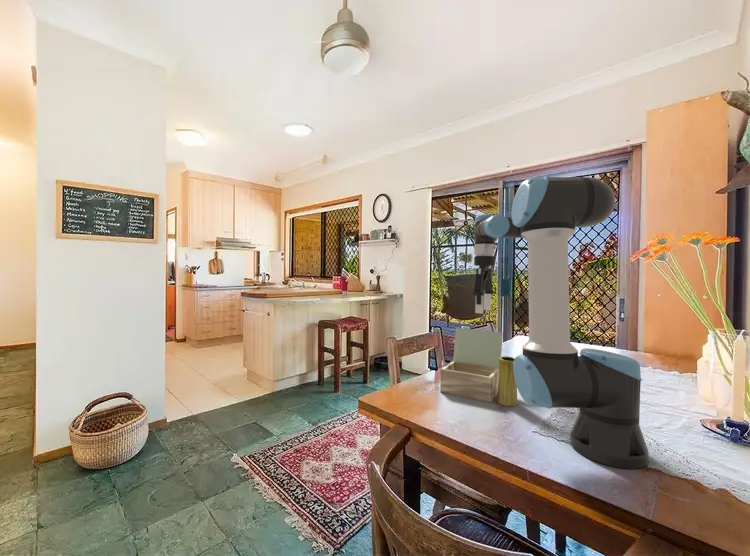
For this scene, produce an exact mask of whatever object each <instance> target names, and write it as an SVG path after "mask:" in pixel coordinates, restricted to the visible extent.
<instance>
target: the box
mask: <svg viewBox="0 0 750 556" xmlns="http://www.w3.org/2000/svg"><path fill="white" fill-rule="evenodd" d="M498 383H499V368H497V367H490V366H484V365H477V364H470V363H464V362H457V361H453V360H452V361H450V363H448V364H446V365H444V366H443V367H441V368H440V389H439V391H440V392H439V393H442V394H447V395H452V396H458V397H461V398H468V399H473V400H477V401H481V402H487V403H492V402H493V401H494V399H495V397H496V396H498Z"/></svg>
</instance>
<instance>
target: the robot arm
mask: <svg viewBox="0 0 750 556" xmlns="http://www.w3.org/2000/svg"><path fill="white" fill-rule="evenodd" d="M615 206H616V195H615V193H614V191H613V189H612V188H611V187H610V185H608V183H606V182H605V181H603V180H601V179H599V178H596V177H595V178H594V177H586V176H585V177H584V176H581V177H578V176H576V177H571V176H570V177H567V176H564V177H563V176H541V177H539V176H538V177H529V178H527V179H525V180H524V181H522V183H521V184H520V185H519V187H518V188H517V190H516V193H515V194H514V197H513V201H512V205H511V212H510V213H511V216H504V215H501V214H495V215H494V214H490V213H489V214H487V213H486V214H479V215H476V216H475V218H474V224H473V226H474V246H473V247H474V249H473V250H474V251H473V254H474V257H473V260H474V261H473V265H474V266H475V267H476V266H477V267H478V268H476V270H475V273H476V275H475V282H474V287H473V288H474V289H473V293H472V294H473V295H472V296H475V304H474V305H475V306H474V307H475V312H474V313H475V314H482V315H483V314H484V311H492V295H493V294H494V289H493V277H492V268H490V266H491V267H494V266H495V261H496V260H495V258H496V257H495V256H494V255H495V253H496V251H495V250H496V249H497V246H495V244H496V239H525V241H526V242H527V264H528V265H527V267H528V268H527V271H528V272H527V274H528V276H527V277H528V278H527V279H528V281H527V283H528V284H527V285H528V331H529V332H528V334H529V335H528V341H527V342H526V343H525V344H524V345H523V346H522V354H519V355H516V356H515V357H514V358H515V359H514V363H513V372H514V378H515V382H516V386H517V392H518V393H519V394H520V397H521V398H522V400H524V402H525V403H527V405H528V406H531V407H535V408H545V409H551V408H554V409H555V408H556V409H557V408H561V409H562V408H564V409H565V408H567V409H568V408H569V409H577V408H578V409H579V411H578V414H577V416H576V419H575V422H574V424H573V426H572V429H571V431H570V438H569V439H570V440H569V442H570V445H571V447H572V448H573V449H574V451H576V452H577V453H579V455H582V456H584V457H585V458H587V459H589V460H591V461H594V462H596V463H598V464H602V465H606V466H609V467H614V468H620V469H628V470H629V469H630V470H634V469H635V470H636V469H642V468H645V467H646V466H648V464H649V450H648V449H649V448H648V447H647V443H646V441H645V438H644V435H643V433H642V429H641V425H640V414H641V413H640V408H641V407H640V405H641V404H640V403H641V384H642V383H641V382H642V377H641V375H642V374H641V365H640V363H639V362H638V361H637V360H636V359H635V358H632V357H629V356H626V355H624V354H620V353H615V352H611V351H607V350H601V349H597V348H596V349H594V348H582V349H580V352H579V350H578V349H577V348H576V347H575V346H574V345H573V344H572V342H571V326H570V324H571V323H570V282H569V281H570V279H569V278H570V275H569V274H570V273H569V239H570V238H571V237H572V236H573V235H574V234H575V233H576V228H587V227H592V226H597V225H599V224H601V223H603V222H604V221H606V220H607V219H609V217H610V216H611V215H612V213H613V211H614V209H615Z"/></svg>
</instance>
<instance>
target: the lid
mask: <svg viewBox="0 0 750 556" xmlns="http://www.w3.org/2000/svg"><path fill="white" fill-rule="evenodd" d="M454 335H455V336H454V347H453V349H454V350H453V359H452V361H457V362H464V363H470V364H477V365H484V366H490V367H497V368H499V360H500V359H499V358H500V357H502V350H503V349H502V348H503V335H504V334H503V331H502V332H501V331H491V330H481V329H472V328H470V329H469V328H461V327H460V328H459V327H456V328H455V334H454Z"/></svg>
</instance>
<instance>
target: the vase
mask: <svg viewBox="0 0 750 556" xmlns="http://www.w3.org/2000/svg"><path fill="white" fill-rule="evenodd" d="M499 359H500V360H499V383H498V393H497V399H496V400H497V403H498V404H499V405H500V406H504V407H516V406H518V388H517V386H516V382H515V378H514V372H513V363H514V359H515V357H512V356H501V357H500V358H499Z"/></svg>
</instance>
